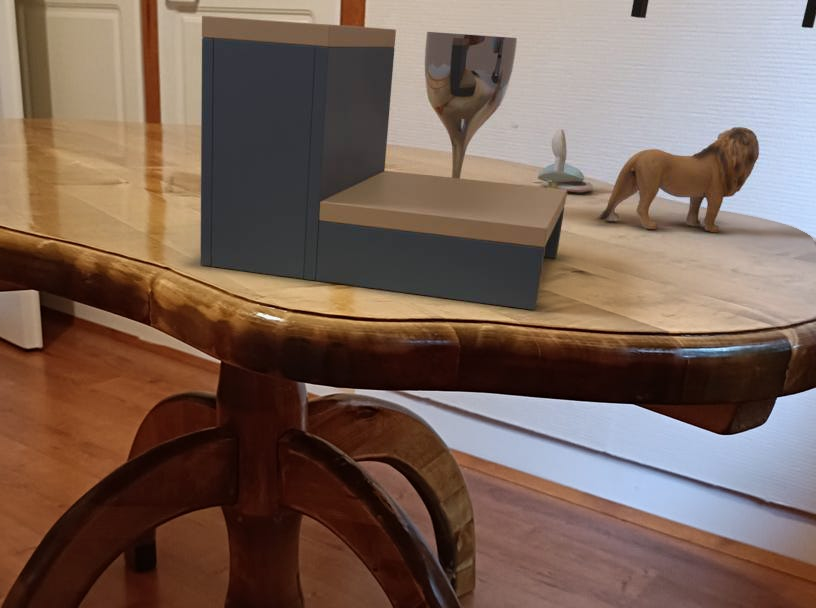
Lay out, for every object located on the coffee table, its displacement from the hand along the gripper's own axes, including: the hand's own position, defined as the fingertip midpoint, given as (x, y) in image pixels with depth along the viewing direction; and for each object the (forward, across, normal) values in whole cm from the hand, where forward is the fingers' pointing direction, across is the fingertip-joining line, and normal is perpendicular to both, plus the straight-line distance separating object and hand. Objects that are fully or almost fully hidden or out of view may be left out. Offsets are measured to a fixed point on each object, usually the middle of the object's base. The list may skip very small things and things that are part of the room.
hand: (719, 22), depth 81 cm
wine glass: (+18, -20, -6) cm, 27 cm away
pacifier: (+18, -15, +16) cm, 28 cm away
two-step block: (+17, -15, -31) cm, 38 cm away
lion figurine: (+18, -1, +1) cm, 18 cm away
